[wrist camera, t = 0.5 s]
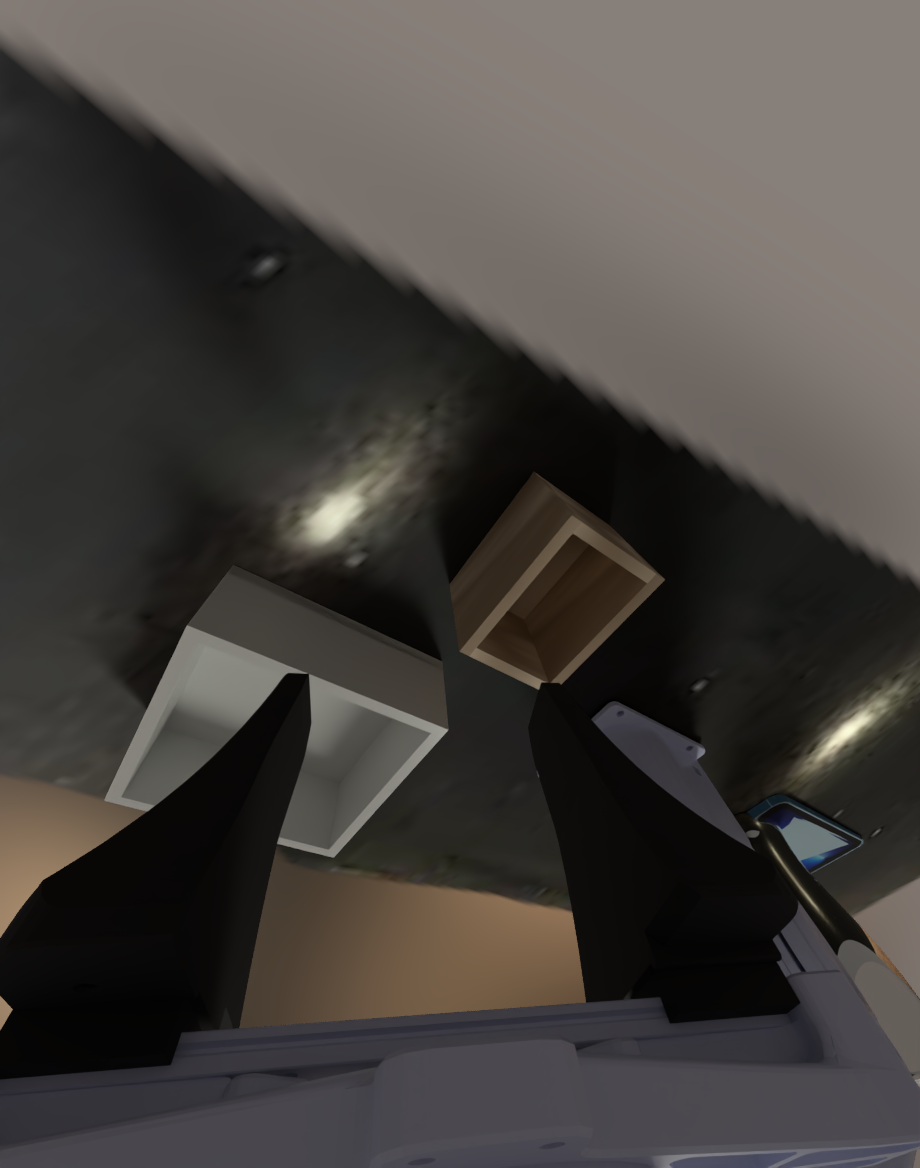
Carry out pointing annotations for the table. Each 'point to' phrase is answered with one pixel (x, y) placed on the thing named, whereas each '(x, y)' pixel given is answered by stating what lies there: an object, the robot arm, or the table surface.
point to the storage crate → (337, 694)
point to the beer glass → (846, 942)
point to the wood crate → (546, 587)
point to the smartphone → (808, 831)
